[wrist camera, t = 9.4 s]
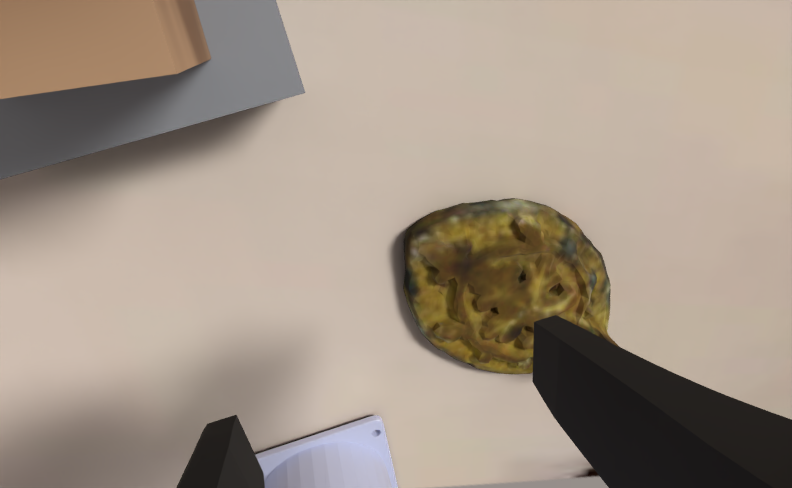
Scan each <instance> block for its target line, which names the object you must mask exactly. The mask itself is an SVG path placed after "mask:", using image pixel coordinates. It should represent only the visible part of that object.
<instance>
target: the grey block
mask: <svg viewBox="0 0 792 488" xmlns="http://www.w3.org/2000/svg"><path fill="white" fill-rule="evenodd" d="M194 2H195V5H196V9H197V12H198V15H199V19H200V22H201V25H202V29H203V32H204V36H205V39H206V42H207V46H208V49H209V52H210V56H211V59H210V60H207V61H205V62H203V63H201V64H198V65H196V66H194V67H192V68H189V69H187V70H185V71H183V72H180V73H178V74H172V75H165V76H158V77H151V78H144V79H137V80H130V81H123V82H116V83H109V84H102V85H95V86H88V87H81V88H74V89H67V90H60V91H53V92H46V93H39V94H32V95H25V96H18V97H11V98H4V99H0V179H4V178H7V177H11V176H14V175H18V174H21V173H25V172H28V171H32V170H35V169H39V168H42V167H46V166H49V165H53V164H56V163H60V162H63V161H67V160H71V159H74V158H78V157H81V156H85V155H88V154H92V153H95V152H99V151H102V150H106V149H109V148H113V147H116V146H120V145H123V144H127V143H130V142H134V141H137V140H141V139H144V138H148V137H151V136H155V135H159V134H162V133H166V132H169V131H173V130H176V129H180V128H183V127H187V126H190V125H194V124H197V123H201V122H204V121H208V120H211V119H215V118H218V117H222V116H225V115H229V114H232V113H236V112H239V111H243V110H247V109H250V108H254V107H257V106H261V105H264V104H268V103H271V102H275V101H278V100H282V99H285V98H289V97H292V96H296V95H299V94H303V93H305V90H304V87H303V84H302V81H301V78H300V75H299V72H298V68H297V65H296V62H295V59H294V56H293V53H292V50H291V47H290V43H289V40H288V37H287V34H286V31H285V28H284V25H283V22H282V18H281V15H280V12H279V9H278V6H277V3H276V0H194Z"/></svg>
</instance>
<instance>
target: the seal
mask: <svg viewBox="0 0 792 488" xmlns="http://www.w3.org/2000/svg"><path fill="white" fill-rule="evenodd" d="M404 252H405V269H406V274H405V280H404V287H403V288H404V292H405V296H406V299H407V302H408V305H409V308H410V311H411V313H412V315H413V317H414V320H415V322H416V323H417V325H418V327H419V329H420V330H421V332H422V333H423V335H424V336H425V337H426V338H427V339H428V340H429V341H430V342H431V343H432V344H433V345H434V346H435V347H436V348H438V349H439V350H442V351H444V352H446V353H447V354H448V355H450V356H451V357H453V358H454V359H457V360H459V361H462V362H465V363H468V364H469V365H471V366H473V367H475V368H478V369H481V370H486V371H490V372H495V373H503V374H529V373H532V372H533V340H534V322H535V321H538V320H541V319H544V318H548V317H551V316H554V315H557V316H559V317H561V318H563V319H565V320H567V321H569V322H571V323H573V324H575V325H577V326H579V327H581V328H583V329H585V330H587V331H589V332H591V333H593V334H595V335H597V336H599V337H601V338H603V339H605V340H607V341H609V342H610V343H612V344H614V345H616V346H618V345H617V344H616V343H615V342H614V341H613V340H612V339H611V338H610V337H609V335H608V333H607V329H608V320H609V314H610V281H609V277H608V275H607V271H606V267H605V263H604V260H603V257H602V255H601V253H600V252H599V251H598V250H597V249H596V248H595V247H594V246H593V244H592V243H591V241H590V240H589V239H588V238H587V237H586V236H585V235H584V234H583V232H582V230H581V229H580V228H579V227H578V225H577V224H576V223H575V222H573V221H572V220H570V219H569V218H567V217H566V216H564V215H562V214H560V213H559V212H557V211H556V210H554V209H552V208H550V207H548V206H546V205H542V204H539V203H535V202H532V201H528V200H522V199H515V198H511V199H503V200H499V201H495V200H489V201H483V202H475V203H462V204H459V205H456V206H453V207H450V208H446V209H442V210H438V211H435V212H433V213H431V214H430V215H428V216H426V217H424V218H422V219H421V220H419V221H418V222H417V223H415V224H414V225H413V226H412V227H410V228H409V229H408V230H407V232H406V235H405V239H404ZM618 347H619V346H618Z"/></svg>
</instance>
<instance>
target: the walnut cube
mask: <svg viewBox="0 0 792 488" xmlns="http://www.w3.org/2000/svg"><path fill="white" fill-rule="evenodd" d="M210 59H211V56H210V52H209V49H208V46H207V42H206V39H205V36H204V32H203V29H202V25H201V22H200V19H199V15H198V12H197V9H196V5H195V2H194V0H0V99H4V98H11V97H18V96H25V95H32V94H39V93H46V92H53V91H60V90H67V89H74V88H81V87H88V86H95V85H102V84H109V83H116V82H123V81H130V80H137V79H144V78H151V77H158V76H165V75H172V74H178V73H180V72H183V71H185V70H187V69H189V68H192V67H194V66H196V65H198V64H201V63H203V62H205V61H207V60H210Z"/></svg>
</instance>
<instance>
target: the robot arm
mask: <svg viewBox="0 0 792 488" xmlns="http://www.w3.org/2000/svg"><path fill="white" fill-rule="evenodd" d="M533 383H534V385H535V386H536V388H537V390H538V391H539V393H540V395H541V397H542V398H543V400H544V402H545V403H546V405H547V406H548V408H549V410H550V411H551V413H552V414H553V416H554V418H555V419H556V420H557V422H558V423H559V424H560V426H561V427H562V428H563V430H564V431H565V432H566V433H567V435H568V436H569V437H570V439H571V440H572V441H573V443H574V444H575V445H576V446H577V448H578V449H579V450H580V452H581V453H582V454H583V455H584V457H585V458H586V459H587V460H588V462H589V463H590V464H591V466H592V467H593V468H594V469H595V471H596V472H597V473H598V474H599V476H600V477H601V478H602V480H603V481H604V482H605V483H606V485H607V486H608V487H609V488H792V420H791V419H788V418H785V417H783V416H780V415H777V414H774V413H771V412H768V411H766V410H763V409H760V408H758V407H755V406H752V405H750V404H747V403H744V402H742V401H739V400H736V399H734V398H731V397H729V396H726V395H724V394H721V393H719V392H716V391H714V390H711V389H709V388H706V387H704V386H702V385H700V384H697V383H695V382H693V381H691V380H688V379H686V378H684V377H681V376H679V375H677V374H675V373H672V372H670V371H668V370H666V369H664V368H662V367H659V366H657V365H655V364H653V363H651V362H649V361H647V360H645V359H643V358H641V357H639V356H636V355H634V354H632V353H630V352H628V351H626V350H624V349H622V348H620V347H618V346H616V345H614V344H612V343H610V342H609V341H607V340H605V339H603V338H601V337H599V336H597V335H595V334H593V333H591V332H589V331H587V330H585V329H583V328H581V327H579V326H577V325H575V324H573V323H571V322H569V321H567V320H565V319H563V318H561V317H559V316H557V315H554V316H551V317H548V318H544V319H541V320H538V321H535V322H534V340H533ZM375 430H376V431H375ZM177 488H398V485H397V481H396V477H395V472H394V468H393V463H392V459H391V455H390V450H389V446H388V442H387V437H386V433H385V428H384V424H383V421H382V418H381V417H380V416H377V415H374V416H370V417H367V418H364V419H361V420H358V421H355V422H352V423H349V424H346V425H343V426H340V427H337V428H334V429H331V430H328V431H325V432H322V433H319V434H316V435H313V436H310V437H307V438H304V439H301V440H298V441H295V442H292V443H288V444H285V445H282V446H279V447H276V448H273V449H270V450H267V451H264V452H261V453H258V454H254V451H253V449H252V447H251V445H250V443H249V441H248V439H247V436H246V434H245V432H244V430H243V428H242V426H241V424H240V422H239V419H238V417H237V415H234V416H231V417H228V418H225V419H221V420H218V421H215V422H212V423H209V424H207V425H206V427H205V428H204V430H203V432H202V434H201V437H200V439H199V441H198V443H197V445H196V447H195V450H194V452H193V454H192V456H191V458H190V460H189V463H188V465H187V467H186V469H185V471H184V473H183V475H182V477H181V479H180V481H179V483H178V485H177Z"/></svg>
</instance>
